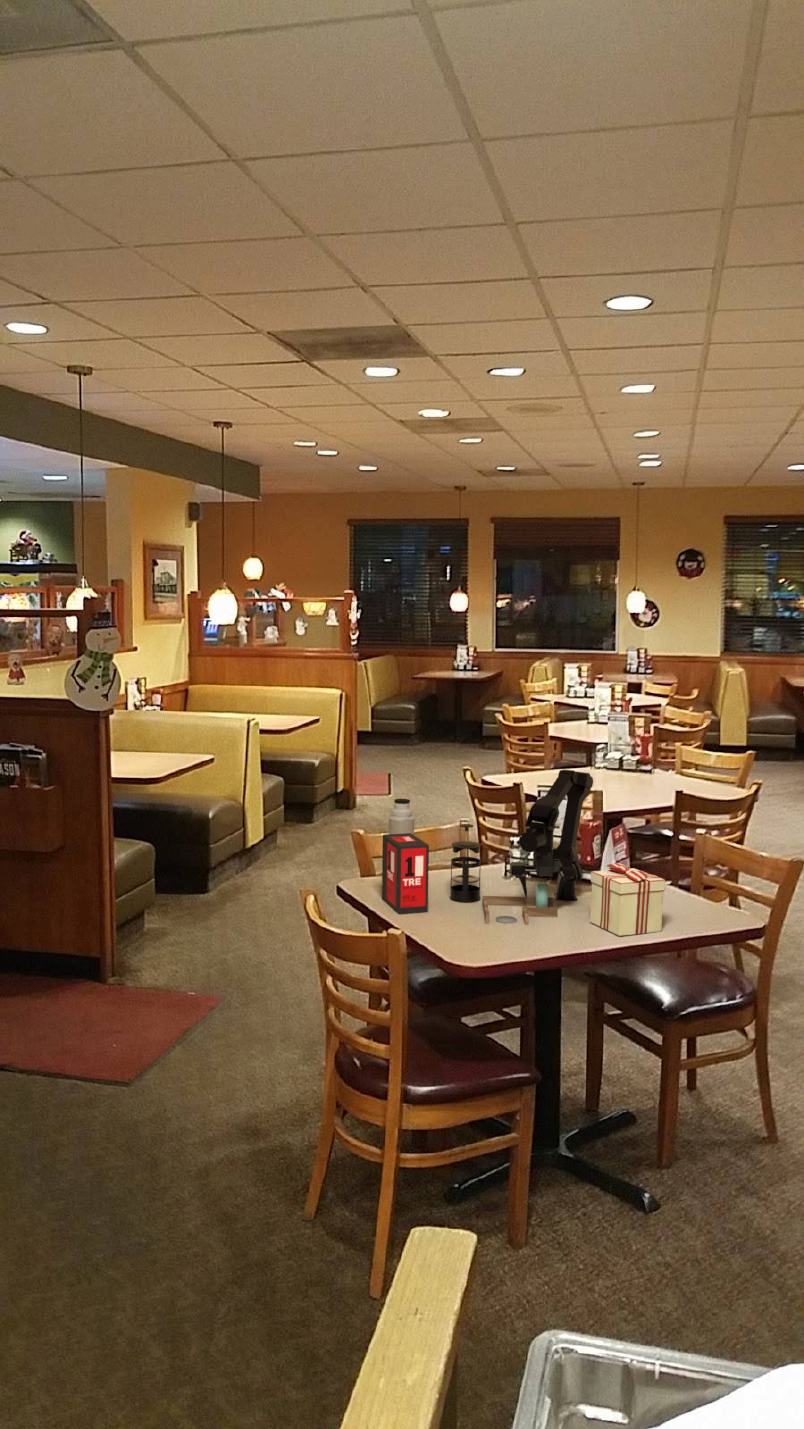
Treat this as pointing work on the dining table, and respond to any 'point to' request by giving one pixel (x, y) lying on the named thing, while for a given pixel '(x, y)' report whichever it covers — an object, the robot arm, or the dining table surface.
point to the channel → (519, 901)
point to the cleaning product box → (405, 873)
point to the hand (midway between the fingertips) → (541, 897)
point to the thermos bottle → (401, 818)
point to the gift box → (626, 900)
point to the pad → (506, 919)
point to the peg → (541, 895)
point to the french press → (465, 872)
